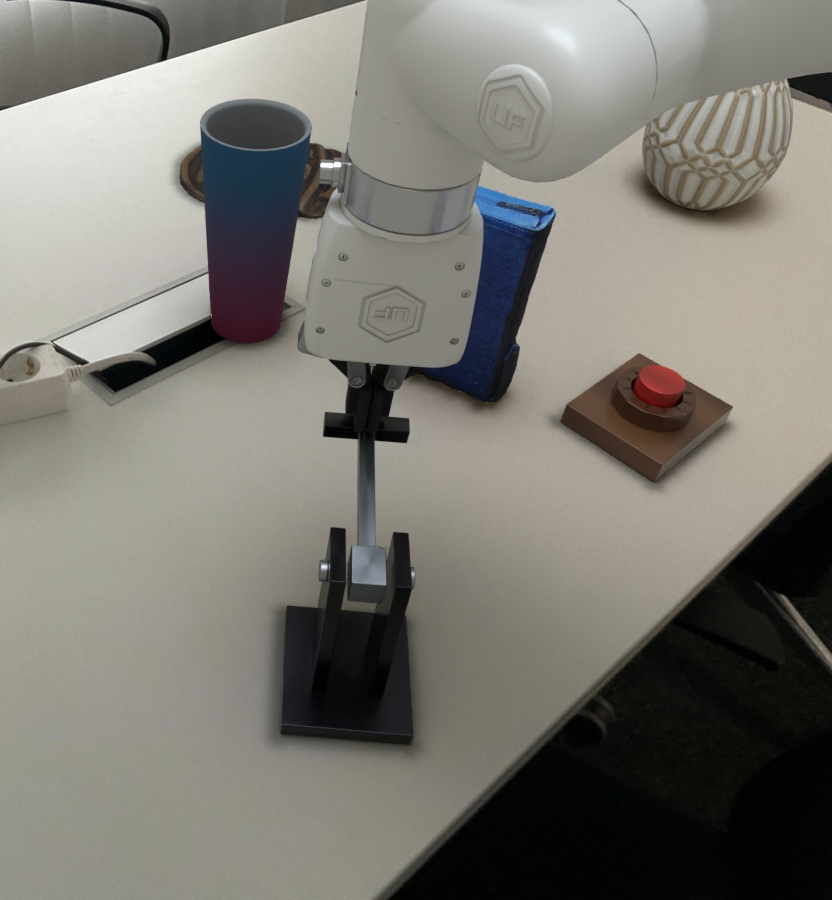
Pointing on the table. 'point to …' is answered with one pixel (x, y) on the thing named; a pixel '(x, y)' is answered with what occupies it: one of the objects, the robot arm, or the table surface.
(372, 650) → the bracket
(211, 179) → the cup
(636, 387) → the button
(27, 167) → the table surface
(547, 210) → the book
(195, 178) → the decorative plaque
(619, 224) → the table surface
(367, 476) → the lever
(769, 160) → the vase
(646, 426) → the button box
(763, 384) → the table surface
